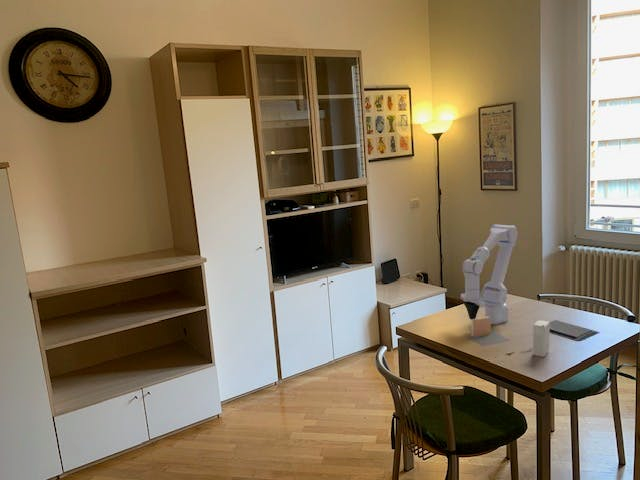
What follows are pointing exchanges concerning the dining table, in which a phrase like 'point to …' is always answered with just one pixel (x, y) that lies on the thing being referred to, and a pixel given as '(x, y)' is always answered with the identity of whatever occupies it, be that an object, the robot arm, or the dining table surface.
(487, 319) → the tile
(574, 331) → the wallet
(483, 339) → the mat
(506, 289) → the robot arm
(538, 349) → the skincare box
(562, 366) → the dining table surface
